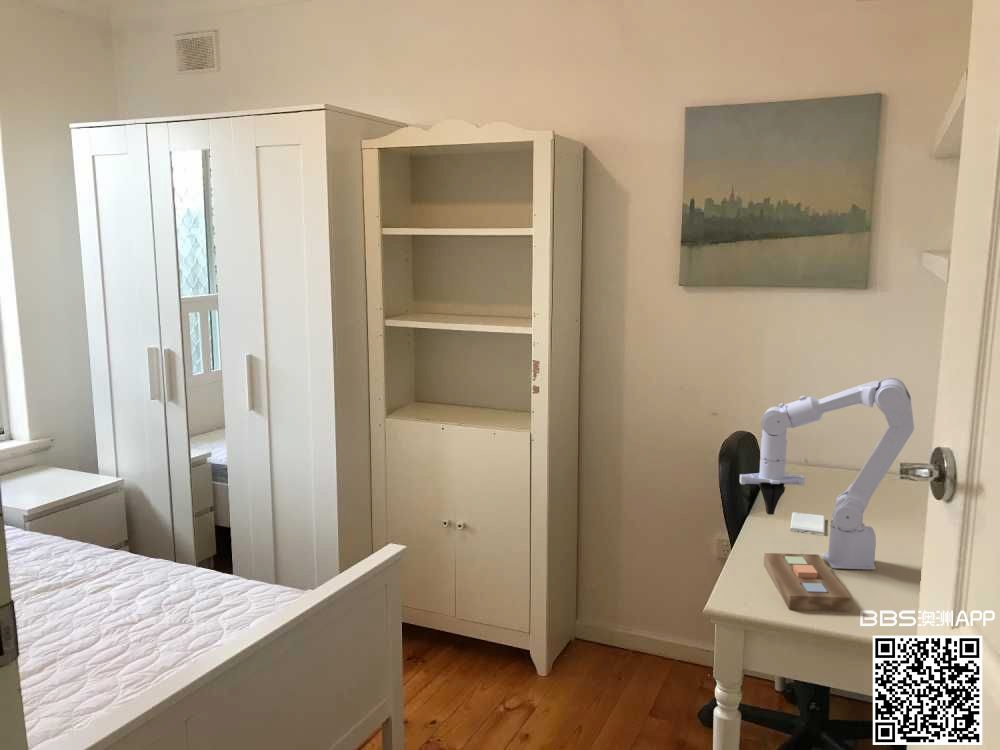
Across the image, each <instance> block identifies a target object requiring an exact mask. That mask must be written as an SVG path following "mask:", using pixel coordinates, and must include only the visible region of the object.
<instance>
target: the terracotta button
mask: <svg viewBox="0 0 1000 750" xmlns="http://www.w3.org/2000/svg"><path fill="white" fill-rule="evenodd" d="M793 573H794V574H795V576H796V577H797V578H810V579H817V575H818V573H817V571H816V570H815V568H814V567H813V566H812V565H793Z"/></svg>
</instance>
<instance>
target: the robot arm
mask: <svg viewBox="0 0 1000 750" xmlns="http://www.w3.org/2000/svg"><path fill="white" fill-rule="evenodd" d="M874 403H875V405H876V406H877V408H878V409H879V410H880V411H881V413H882V414H883V415H884V416H885V419H886V422H887V424H888V426H887V427H886V430H885V431H884V433H883V435H882V436H881V438H880V439H879V440H878V442H877V444H876V446H874V449H873V450H872V452H871V453H870V455H869V456H868V458H867V459H866V461H865V463H864V464H863V466H862V467H861V469H860V471H859V472H858V474H857V476H856V477H855V479H854V481H852V483H851V484H850V485H849V486H848V487H847V489H846V490H845V491H844V492H842V493H840V494H839V495H837V497H836V499H835V501H834V509H833V511H832V519H831V520H830V526H829V541H828V552H822V555H821V556H823V558H824V559H825V561H826V562H827V563H828V564H829V566H830V567H831V568H832V569H841V570H842V569H843V570H844V569H846V570H848V569H849V570H876V566H875V558H876V547H877V546H876V545H877V538H876V532H875V529H874V528H873V527H872V526H870V525H869V526H868V525H865V523H863V522H864V512H865V511H866V509H867V507H868V505H869V503H870V500H871V499H872V496H873V495H874V493H875V491H876V490H877V488H878V487H879V485H880V484H881V482H882V480H883V479H884V477H885V476H886V474H887V472H888V471H889V470H890V468H891V467H892V466H893V464H894V462H895V460H896V458H897V457H898V456H899V454H900V452H901V451H902V450H903V448H904V446H905V445H906V443H907V442H908V440H909V439H910V437H911V436H912V434H913V432H914V431H915V422H914V414H913V406H912V398H911V394H910V392H909V390H908V389H907V386H906V385H905V383H904V381H902V380H901V379H898V378H896V377H886V378H883V379H882V380H880V381H879V379H878V380H872V381H870V382H866V383H863V384H859V385H856V386H853V387H850V388H848V389H845V390H842V391H839V392H836V393H834V394H830V395H828V396H824V397H823V398H820V399H819V398H816V397H814V396H812V395H811V396H806V395H802V396H801V395H800V396H799V398H798V400H795V401H792V402H788V403H786V404H784V402H782V403H779V404H778V406H771V407H769V408H767V410H766V411H765V412H764V414H763V415H762V417H761V420H760V425H761V428H762V431H761V436H762V437H761V438H760V439H761V440H760V454H759V455H760V459H759V472H757V473H745V474H744V473H741V474H740V473H739V484H740V485H746V484H748V485H750V484H751V485H752V484H753V485H758V487H759V489H760V491H761V496H762V497H763V500H764V501H763V502H764V505H765V512H766V514H767V515H771V516H772V515H774V514H775V510H776V508H777V505H778V502H779V500H780V499H781V497H782V495H783V494H784V493H785V492H786V491H785V490H786V486H785V485H791V486H792V485H795V486H796V485H798V486H801V487H804V486H805V479H806V478H805V477H804V476H803V475H798V474H788V473H786V461H787V447H788V440H787V430H788V429H795V428H798V427H801V426H805V425H807V424H810V423H814V422H819V421H820V420H822V419H821V418H822V417H823V414H825V413H828V412H832V411H836V410H840V409H844V408H846V407H850V406H854V405H863V406H866V407H869V408H874Z"/></svg>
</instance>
